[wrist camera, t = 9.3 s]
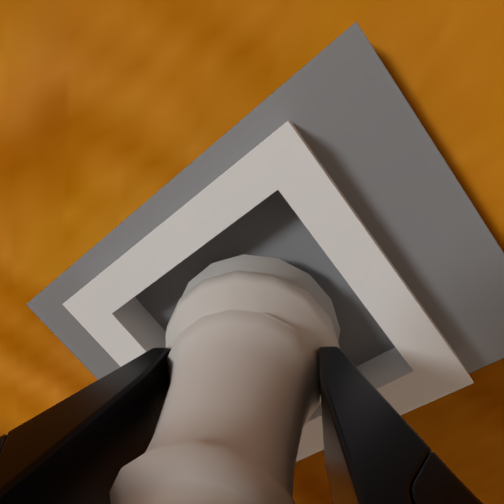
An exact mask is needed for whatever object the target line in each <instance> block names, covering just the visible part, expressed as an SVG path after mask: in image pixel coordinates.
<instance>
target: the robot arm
mask: <svg viewBox="0 0 504 504" xmlns="http://www.w3.org/2000/svg"><path fill="white" fill-rule="evenodd" d="M170 351H171V349H170V348H152V349H151V350H149V351H147V352H145V353H144V354H142V355H140V356H138V357H137V358H135V359H133V360H132V361H130V362H128V363H126V364H125V365H123V366H121V367H120V368H118V369H116V370H114V371H113V372H111V373H109V374H108V375H106V376H104V377H102V378H101V379H99V380H97V381H96V382H94V383H92V384H90V385H89V386H87V387H85V388H83V389H82V390H80V391H78V392H77V393H75V394H73V395H71V396H70V397H68V398H66V399H65V400H63V401H61V402H59V403H58V404H56V405H54V406H53V407H51V408H49V409H47V410H46V411H44V412H42V413H41V414H39V415H37V416H35V417H34V418H32V419H30V420H28V421H27V422H25V423H23V424H22V425H20V426H18V427H16V428H15V429H13V430H11V431H10V432H8V434H7V435H2V436H1V437H0V504H111V503H110V493H109V492H110V490H111V488H112V486H113V484H114V482H115V480H116V478H117V475H118V473H119V471H120V469H121V468H122V467H124V466H125V465H127V464H128V463H130V462H131V461H133V460H135V459H136V458H138V457H139V456H141V455H142V454H144V453H145V452H146V450H147V448H148V446H149V444H150V442H151V440H152V438H153V435H154V432H155V429H156V426H157V423H158V420H159V416H160V413H161V410H162V407H163V404H164V401H165V398H166V395H167V392H168V389H169V386H170V384H169V377H168V362H167V357H168V355H169V353H170ZM319 370H320V390H321V408H322V426H323V444H324V456H325V463H326V470H327V476H328V482H329V487H330V493H331V499H332V504H483V503H482V502H481V501H480V500H479V499H478V498H477V497H476V496H475V495H474V494H473V493H472V492H471V491H470V490H469V489H468V488H467V487H466V486H465V485H464V484H463V483H462V482H461V481H460V480H459V479H458V478H457V477H456V476H455V474H454V473H453V472H452V471H451V470H450V469H449V468H448V467H447V466H446V465H445V464H444V463H443V462H442V460H441V459H440V458H439V457H438V456H437V455H436V454H435V453H434V452H431V449H430V447H429V446H428V445H427V444H426V443H425V442H424V441H423V440H422V439H421V438H420V436H419V435H418V434H417V433H416V432H415V431H414V430H413V429H412V428H411V427H410V425H409V424H408V423H407V422H406V421H405V420H404V419H403V418H402V417H401V416H400V414H399V413H398V412H397V411H396V410H395V409H394V408H393V407H392V406H391V405H390V403H389V402H388V401H387V400H386V399H385V398H384V397H383V396H382V395H381V394H380V392H379V391H378V390H377V389H376V388H375V387H374V386H373V385H372V384H371V383H370V381H369V380H368V379H367V378H366V377H365V376H364V375H363V374H362V373H361V372H360V370H359V369H358V368H357V367H356V366H355V365H354V364H353V363H352V362H351V361H350V359H349V358H348V357H347V356H346V355H345V354H344V353H343V352H342V351H341V350H340V348H338V347H336V346H325V347H320V348H319Z"/></svg>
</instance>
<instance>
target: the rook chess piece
mask: <svg viewBox="0 0 504 504" xmlns="http://www.w3.org/2000/svg"><path fill="white" fill-rule="evenodd" d="M339 335H340V326H339V323H338V320H337V316H336V313H335V310H334V306H333V303H332V300H331V299H330V297H329V296H328V295H327V294H326V293H325V292H324V290H323V289H322V288H321V287H320V286H319V285H318V284H317V282H316V281H315V280H314V279H313V278H312V277H311V275H310V274H308V273H306V272H304V271H302V270H300V269H298V268H296V267H294V266H292V265H290V264H289V263H287V262H285V261H283V260H281V259H279V258H272V257H263V256H254V255H244V254H243V255H239V256H236V257H232V258H229V259H225V260H222V261H218V262H214V263H211V264H210V265H209V266H208V267H207V268H205V269H204V270H203V271H202V272H201V273H199V274H198V275H197V276H196V277H194V278H193V279H192V280H191V281H190V282H188V285H187V287H186V289H185V291H184V293H183V295H182V297H181V298H180V299H179V301H178V303H177V305H176V307H175V310H174V312H173V314H172V316H171V318H170V320H169V323H168V325H167V330H166V348H170V349H171V351H170V353H169V355H168V357H167V362H168V377H169V384H170V386H169V389H168V392H167V395H166V398H165V401H164V404H163V407H162V410H161V413H160V416H159V420H158V423H157V426H156V429H155V432H154V435H153V438H152V440H151V442H150V444H149V446H148V448H147V450H146V452H145V453H144V454H142V455H141V456H139V457H138V458H136V459H135V460H133V461H131V462H130V463H128V464H127V465H125V466H124V467H122V468H121V469H120V471H119V473H118V475H117V478H116V480H115V482H114V484H113V486H112V488H111V490H110V492H109V493H110V503H111V504H295V502H294V500H293V499H292V491H293V473H294V468H295V463H296V458H297V453H298V448H299V443H300V439H301V434H302V429H303V426H304V425H305V424H306V423H307V421H308V420H309V418H310V417H311V416H312V414H313V413H314V412H315V410H316V409H317V408H318V406H319V405H320V403H321V390H320V370H319V348H320V347H325V346H336V347H338V348H340V347H339V343H338V341H339Z"/></svg>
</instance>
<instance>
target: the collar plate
mask: <svg viewBox="0 0 504 504" xmlns="http://www.w3.org/2000/svg"><path fill="white" fill-rule="evenodd" d="M243 254H244V255H254V256H263V257H272V258H279V259H281V260H283V261H285V262H287V263H289V264H290V265H292V266H294V267H296V268H298V269H300V270H302V271H304V272H306V273H308V274H310V275H311V277H312V278H313V279H314V280H315V281H316V282H317V284H318V285H319V286H320V287H321V288H322V289H323V290H324V292H325V293H326V294H327V295H328V296H329V297H330V299H331V300H332V303H333V306H334V310H335V313H336V316H337V320H338V323H339V326H340V335H339V341H338V343H339V347H340V350H341V351H342V352H343V353H344V354H345V355H346V356H347V357H348V358H349V359H350V361H351V362H352V363H353V364H354V365H355V366H356V367H357V368H358V369H359V370H360V372H361V373H362V374H363V375H364V376H365V377H366V378H367V379H368V380H369V381H370V383H371V384H372V385H373V386H374V387H375V388H376V389H377V390H378V391H379V392H380V394H381V395H382V396H383V397H384V398H385V399H386V400H387V401H388V402H389V403H390V405H391V406H392V407H393V408H394V409H395V410H396V411H397V412H398V413H399V414H400V416H401V415H403V414H405V413H407V412H410V411H412V410H414V409H416V408H419V407H421V406H423V405H425V404H428V403H430V402H432V401H435V400H437V399H439V398H441V397H444V396H446V395H448V394H450V393H453V392H455V391H457V390H459V389H462V388H464V387H466V386H468V385H471V384H473V383H474V382H473V380H472V378H471V377H470V375H469V374H470V373H472V372H474V371H476V370H478V369H481V368H483V367H485V366H487V365H489V364H492V363H494V362H496V361H498V360H500V359H503V358H504V253H503V251H502V250H501V248H500V246H499V245H498V243H497V242H496V240H495V239H494V237H493V235H492V234H491V232H490V231H489V229H488V228H487V226H486V224H485V223H484V221H483V220H482V218H481V217H480V215H479V213H478V212H477V210H476V209H475V207H474V206H473V204H472V202H471V201H470V199H469V198H468V196H467V195H466V193H465V191H464V190H463V188H462V187H461V185H460V184H459V182H458V180H457V179H456V177H455V176H454V174H453V173H452V171H451V169H450V168H449V166H448V165H447V163H446V162H445V160H444V158H443V157H442V155H441V154H440V152H439V151H438V149H437V147H436V146H435V144H434V143H433V141H432V140H431V138H430V136H429V135H428V133H427V132H426V130H425V129H424V127H423V125H422V124H421V122H420V121H419V119H418V118H417V116H416V114H415V113H414V111H413V110H412V108H411V107H410V105H409V103H408V102H407V100H406V99H405V97H404V96H403V94H402V92H401V91H400V89H399V88H398V86H397V85H396V83H395V81H394V80H393V78H392V77H391V75H390V74H389V72H388V70H387V69H386V67H385V66H384V64H383V63H382V61H381V60H380V58H379V56H378V55H377V53H376V52H375V50H374V49H373V47H372V45H371V44H370V42H369V41H368V39H367V38H366V36H365V34H364V33H363V31H362V30H361V28H360V27H359V25H358V23H357V22H355V23H354V24H353V25H352V26H351V27H349V28H348V29H347V30H346V31H345V32H344V33H342V34H341V35H340V36H339V37H338V38H337V39H335V40H334V41H333V42H332V43H331V44H330V45H328V46H327V47H326V48H325V49H324V50H323V51H321V52H320V53H319V54H318V55H317V56H316V57H314V58H313V59H312V60H311V61H310V62H309V63H307V64H306V65H305V66H304V67H303V68H302V69H300V70H299V71H298V72H297V73H296V74H295V75H293V76H292V77H291V78H290V79H289V80H287V81H286V82H285V83H284V84H283V85H282V86H280V87H279V88H278V89H277V90H276V91H275V92H273V93H272V94H271V95H270V96H269V97H268V98H266V99H265V100H264V101H263V102H262V103H261V104H259V105H258V106H257V107H256V108H255V109H254V110H252V111H251V112H250V113H249V114H248V115H247V116H245V117H244V118H243V119H242V120H241V121H240V122H238V123H237V124H236V125H235V126H234V127H233V128H231V129H230V130H229V131H228V132H227V133H226V134H224V135H223V136H222V137H221V138H220V139H219V140H217V141H216V142H215V143H214V144H213V145H212V146H210V147H209V148H208V149H207V150H206V151H205V152H203V153H202V154H201V155H200V156H199V157H198V158H196V159H195V160H194V161H193V162H192V163H191V164H189V165H188V166H187V167H186V168H185V169H184V170H182V171H181V172H180V173H179V174H178V175H177V176H175V177H174V178H173V179H172V180H171V181H170V182H168V183H167V184H166V185H165V186H164V187H163V188H161V189H160V190H159V191H158V192H157V193H156V194H154V195H153V196H152V197H151V198H150V199H149V200H147V201H146V202H145V203H144V204H143V205H142V206H140V207H139V208H138V209H137V210H136V211H135V212H133V213H132V214H131V215H130V216H129V217H128V218H126V219H125V220H124V221H123V222H122V223H121V224H119V225H118V226H117V227H116V228H115V229H114V230H112V231H111V232H110V233H109V234H108V235H107V236H105V237H104V238H103V239H102V240H101V241H100V242H98V243H97V244H96V245H95V246H94V247H93V248H91V249H90V250H89V251H88V252H87V253H86V254H84V255H83V256H82V257H81V258H80V259H79V260H77V261H76V262H75V263H74V264H73V265H72V266H70V267H69V268H68V269H67V270H66V271H65V272H63V273H62V274H61V275H60V276H59V277H58V278H56V279H55V280H54V281H53V282H52V283H51V284H49V285H48V286H47V287H46V288H45V289H44V290H42V291H41V292H40V293H39V294H38V295H37V296H35V297H34V298H33V299H32V300H31V301H30V302H28V303H27V304H26V305H27V306H28V307H29V308H30V309H31V310H32V311H33V312H34V313H35V314H36V315H37V316H38V317H39V318H40V319H41V321H42V322H43V323H44V324H45V325H46V326H47V327H48V328H49V329H50V330H51V331H52V332H53V333H54V334H55V335H56V336H57V337H58V338H59V339H60V340H61V341H62V342H63V344H64V345H65V346H66V347H67V348H68V349H69V350H70V351H71V352H72V353H73V354H74V355H75V356H76V357H77V358H78V359H79V360H80V361H81V362H82V363H83V364H84V365H85V366H86V368H87V369H88V370H89V371H90V372H91V373H92V374H93V375H94V376H95V377H96V378H97V379H98V380H99V379H101V378H102V377H104V376H106V375H108V374H109V373H111V372H113V371H114V370H116V369H118V368H120V367H121V366H123V365H125V364H126V363H128V362H130V361H132V360H133V359H135V358H137V357H138V356H140V355H142V354H144V353H145V352H147V351H149V350H151V349H152V348H166V330H167V325H168V323H169V320H170V318H171V316H172V314H173V312H174V310H175V307H176V305H177V303H178V301H179V299H180V298H181V297H182V295H183V293H184V291H185V289H186V287H187V285H188V282H190V281H191V280H192V279H193V278H194V277H196V276H197V275H198V274H199V273H201V272H202V271H203V270H204V269H205V268H207V267H208V266H209V265H210V264H211V263H214V262H218V261H222V260H225V259H229V258H232V257H236V256H239V255H243ZM322 450H324V444H323V426H322V408H321V403H320V405H319V406H318V408H317V409H316V410H315V412H314V413H313V414H312V416H311V417H310V418H309V420H308V421H307V423H306V424H305V425H304V426H303V429H302V434H301V439H300V443H299V448H298V453H297V458H296V462H297V461H299V460H301V459H304V458H306V457H308V456H310V455H313V454H315V453H317V452H319V451H322Z"/></svg>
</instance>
